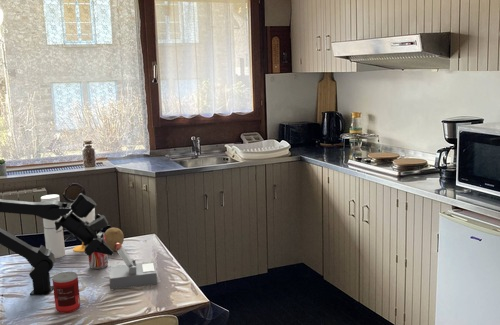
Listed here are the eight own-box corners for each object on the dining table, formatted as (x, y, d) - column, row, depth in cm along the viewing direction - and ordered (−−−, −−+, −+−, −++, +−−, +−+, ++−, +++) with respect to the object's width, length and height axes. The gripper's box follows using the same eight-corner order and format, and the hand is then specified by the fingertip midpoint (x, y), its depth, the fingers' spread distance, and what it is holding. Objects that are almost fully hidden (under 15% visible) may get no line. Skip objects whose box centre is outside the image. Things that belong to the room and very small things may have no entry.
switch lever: (130, 273, 198) (112, 248, 195) (130, 268, 204) (112, 243, 201) (137, 269, 199) (119, 243, 196) (136, 264, 204) (119, 239, 201)
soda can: (111, 263, 220) (108, 231, 218) (104, 269, 213) (101, 237, 211) (93, 263, 221) (90, 231, 219) (86, 269, 214) (83, 237, 212)
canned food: (71, 301, 186) (68, 269, 184) (85, 307, 181) (82, 274, 179) (50, 309, 181) (47, 277, 179) (64, 315, 175) (61, 282, 174)
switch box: (110, 289, 194) (108, 272, 193) (110, 277, 206) (109, 260, 205) (157, 283, 198) (155, 266, 197) (154, 271, 209) (153, 255, 208)
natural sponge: (100, 254, 231) (98, 231, 229) (106, 247, 240) (104, 224, 238) (122, 254, 230) (120, 230, 229) (127, 246, 239) (125, 224, 237)
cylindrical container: (46, 254, 234) (39, 195, 229) (64, 251, 237) (58, 193, 232) (48, 259, 227) (41, 199, 223) (66, 256, 230) (60, 197, 226)
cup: (68, 246, 243) (64, 208, 240) (96, 242, 247) (93, 204, 244) (70, 254, 232) (66, 214, 229) (99, 250, 236) (96, 211, 233)
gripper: (91, 216, 185) (128, 244, 190) (93, 203, 203) (127, 229, 208) (69, 242, 185) (106, 269, 190) (73, 226, 203) (107, 252, 207)
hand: (112, 253), depth 199 cm, fingers closed
